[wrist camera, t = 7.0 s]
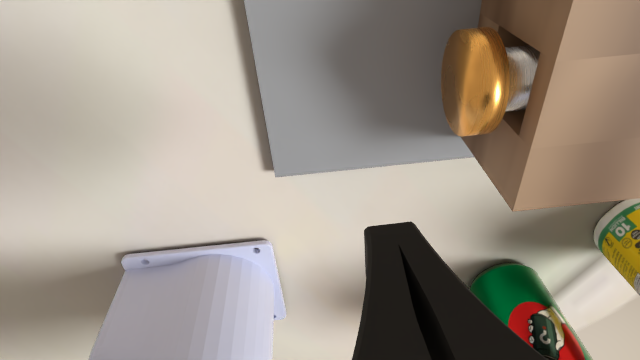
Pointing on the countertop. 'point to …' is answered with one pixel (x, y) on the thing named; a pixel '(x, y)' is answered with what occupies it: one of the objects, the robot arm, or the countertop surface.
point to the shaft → (484, 80)
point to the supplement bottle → (622, 239)
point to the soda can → (528, 310)
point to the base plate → (355, 81)
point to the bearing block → (568, 104)
